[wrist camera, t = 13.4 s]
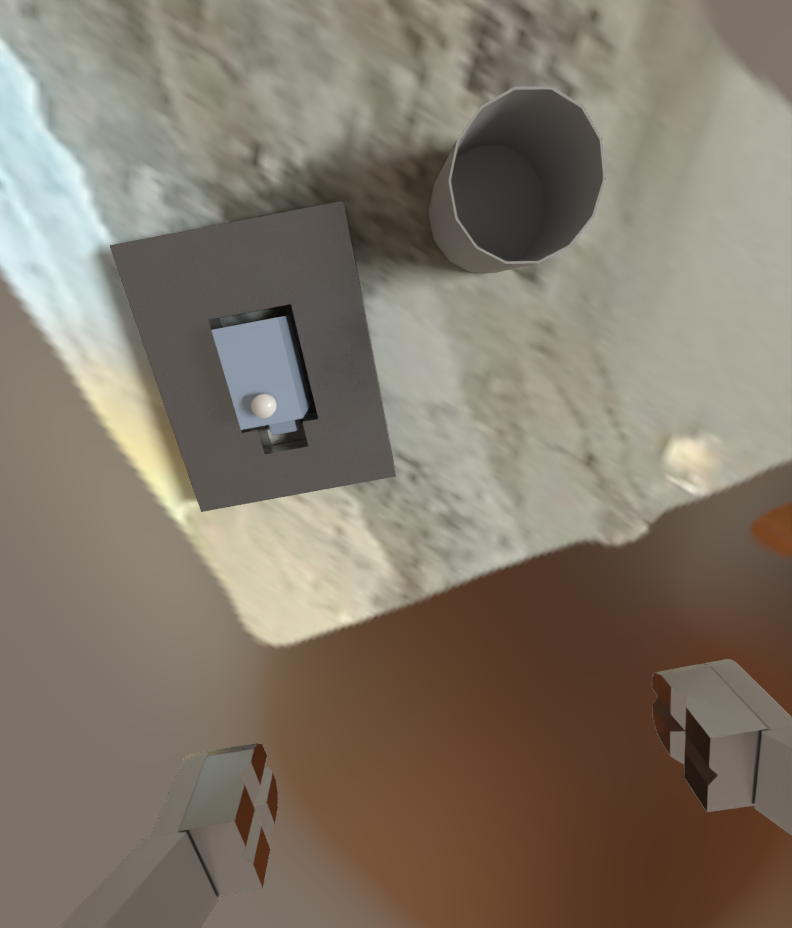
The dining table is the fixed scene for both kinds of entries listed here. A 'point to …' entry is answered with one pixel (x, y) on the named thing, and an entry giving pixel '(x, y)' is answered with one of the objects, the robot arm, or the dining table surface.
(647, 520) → the dining table surface
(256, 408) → the block
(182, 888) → the robot arm
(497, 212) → the cup
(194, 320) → the frame
